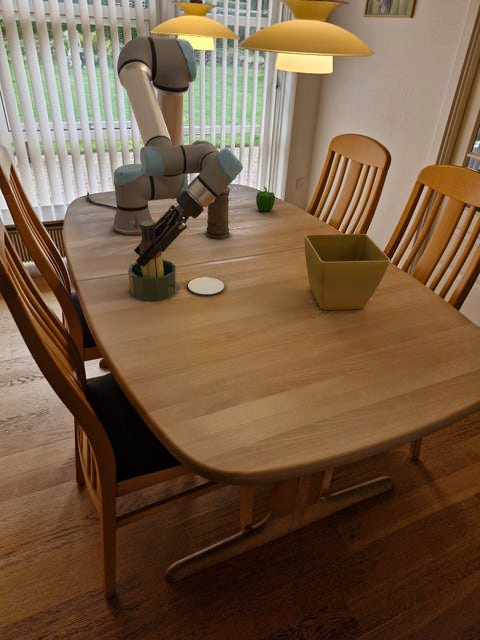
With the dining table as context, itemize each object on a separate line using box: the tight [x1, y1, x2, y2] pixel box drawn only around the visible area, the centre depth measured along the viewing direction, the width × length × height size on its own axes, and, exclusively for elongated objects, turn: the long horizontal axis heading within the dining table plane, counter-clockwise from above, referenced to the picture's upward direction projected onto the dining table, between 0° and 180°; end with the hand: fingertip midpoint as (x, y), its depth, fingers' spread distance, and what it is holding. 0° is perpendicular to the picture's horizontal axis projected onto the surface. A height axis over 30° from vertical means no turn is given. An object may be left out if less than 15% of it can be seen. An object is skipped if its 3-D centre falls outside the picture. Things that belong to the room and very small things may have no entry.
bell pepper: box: [255, 186, 276, 213], centre depth 193 cm, size 8×8×10 cm
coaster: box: [187, 276, 225, 297], centre depth 133 cm, size 11×11×1 cm
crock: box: [127, 258, 178, 302], centre depth 128 cm, size 13×13×7 cm
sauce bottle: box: [139, 220, 164, 278], centre depth 125 cm, size 6×6×20 cm
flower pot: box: [304, 233, 391, 311], centre depth 126 cm, size 19×19×17 cm
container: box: [205, 186, 231, 240], centre depth 164 cm, size 9×9×18 cm
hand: (138, 258), depth 124 cm, fingers closed on sauce bottle, 6 cm apart
